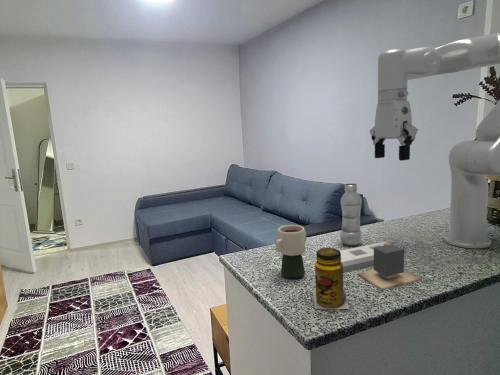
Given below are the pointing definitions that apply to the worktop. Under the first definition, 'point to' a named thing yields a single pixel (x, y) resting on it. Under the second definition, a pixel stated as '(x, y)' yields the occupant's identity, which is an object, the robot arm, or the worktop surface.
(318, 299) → the condiment
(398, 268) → the block
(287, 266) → the character mug
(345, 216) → the plastic bottle
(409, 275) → the cork pad
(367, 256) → the power strip
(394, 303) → the worktop surface
